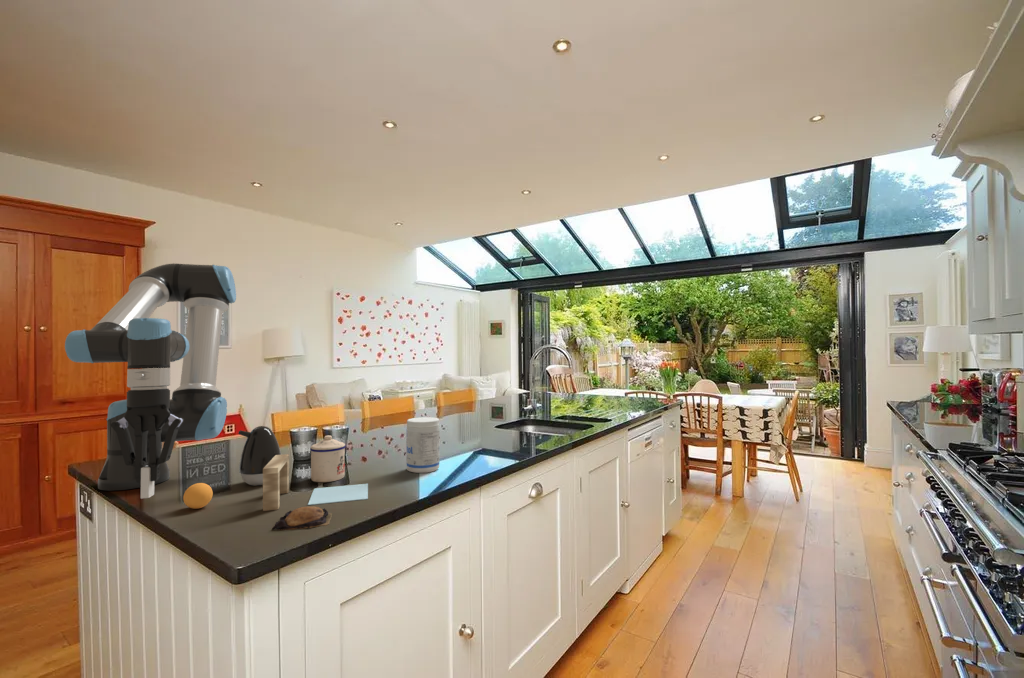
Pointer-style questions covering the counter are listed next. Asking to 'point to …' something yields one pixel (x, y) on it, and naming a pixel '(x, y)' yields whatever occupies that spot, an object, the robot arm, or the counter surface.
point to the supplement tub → (422, 444)
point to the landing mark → (339, 494)
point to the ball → (198, 495)
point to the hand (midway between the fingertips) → (147, 496)
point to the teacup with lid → (327, 460)
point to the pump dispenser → (257, 454)
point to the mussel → (304, 518)
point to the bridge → (275, 481)
